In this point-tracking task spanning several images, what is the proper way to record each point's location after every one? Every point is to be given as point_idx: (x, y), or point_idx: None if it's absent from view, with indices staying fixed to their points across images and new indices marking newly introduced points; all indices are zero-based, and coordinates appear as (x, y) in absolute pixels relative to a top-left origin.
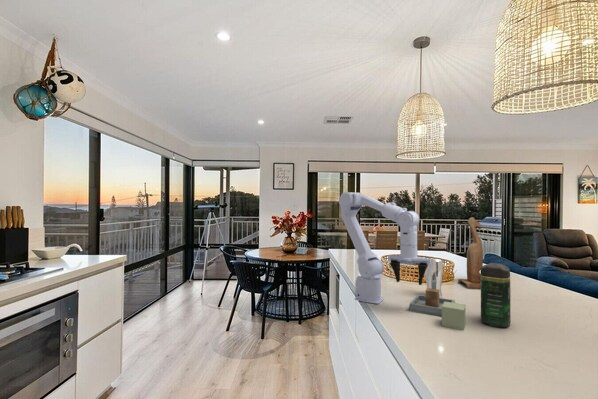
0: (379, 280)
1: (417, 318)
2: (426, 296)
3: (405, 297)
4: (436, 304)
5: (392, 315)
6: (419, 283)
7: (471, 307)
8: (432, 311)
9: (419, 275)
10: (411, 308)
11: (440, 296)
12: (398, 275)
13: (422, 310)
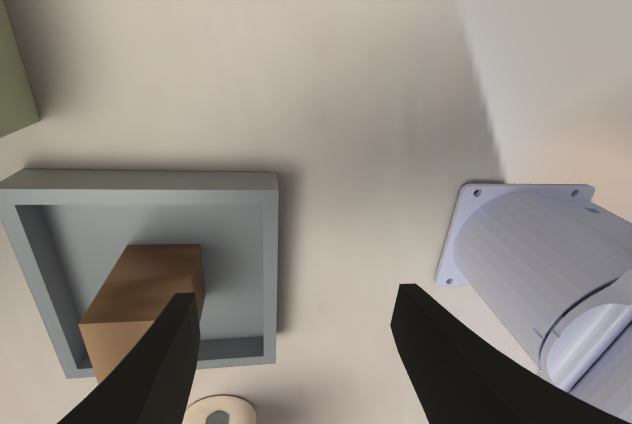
0: (541, 316)
1: (197, 49)
2: (179, 287)
3: (338, 351)
4: (124, 261)
5: (359, 21)
6: (182, 299)
7: (16, 378)
8: (131, 179)
9: (148, 372)
10: (266, 178)
11: (184, 420)
12: (425, 347)
13: (197, 177)
